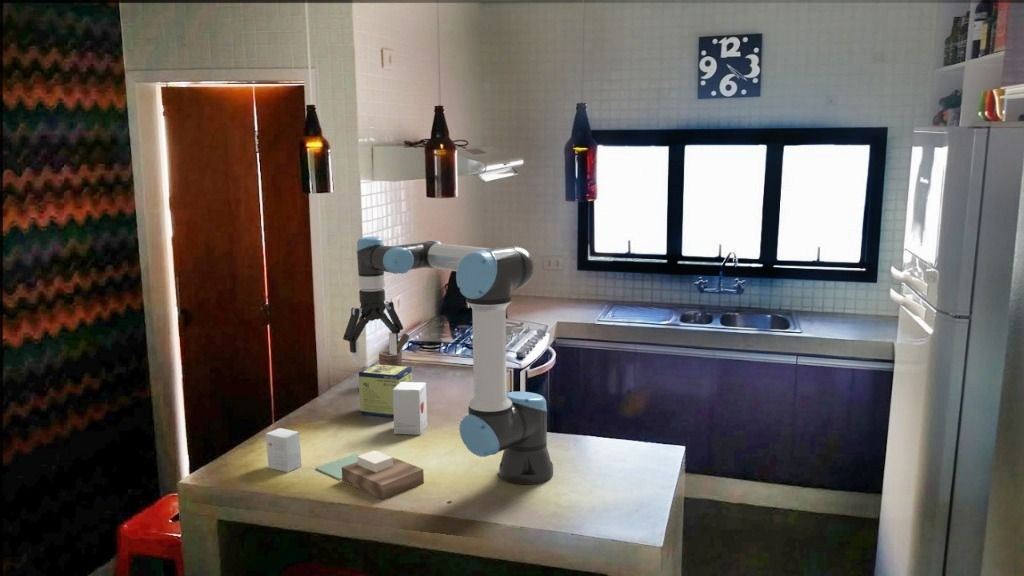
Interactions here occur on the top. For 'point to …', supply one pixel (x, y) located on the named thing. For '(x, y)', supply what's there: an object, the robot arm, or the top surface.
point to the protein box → (380, 388)
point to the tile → (375, 461)
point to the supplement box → (410, 408)
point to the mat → (338, 466)
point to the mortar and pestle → (392, 359)
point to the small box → (283, 449)
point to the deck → (384, 478)
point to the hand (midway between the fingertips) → (375, 358)
